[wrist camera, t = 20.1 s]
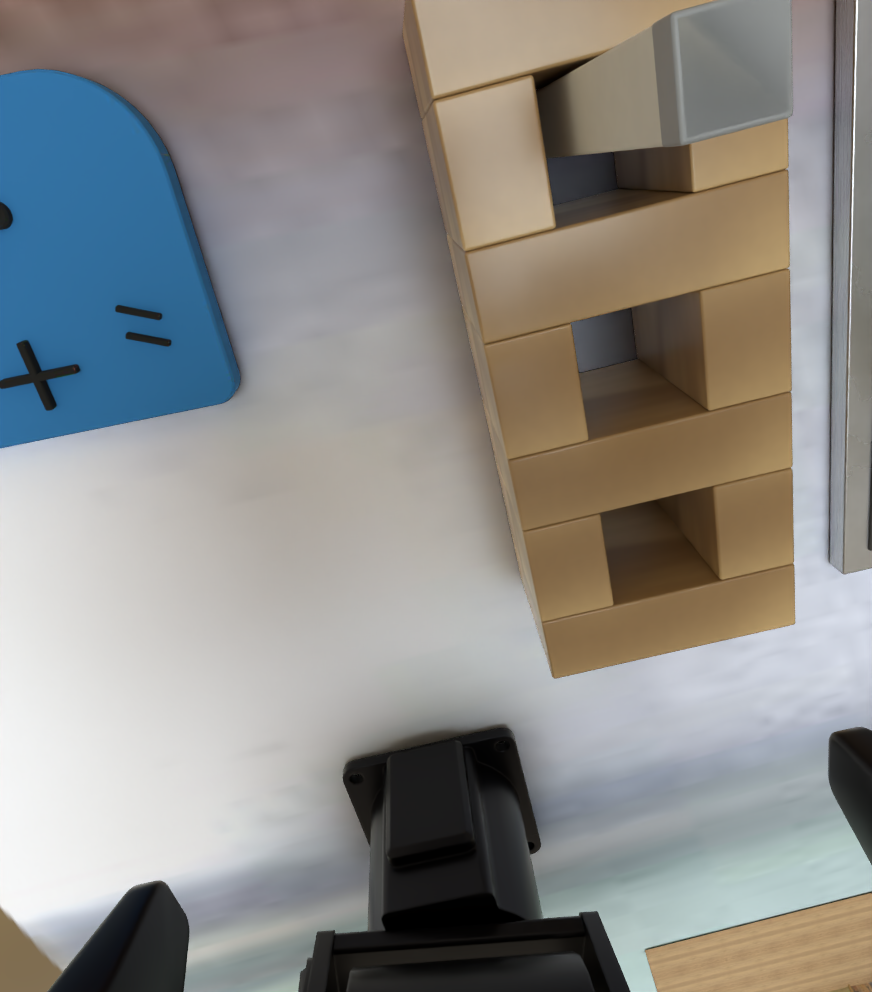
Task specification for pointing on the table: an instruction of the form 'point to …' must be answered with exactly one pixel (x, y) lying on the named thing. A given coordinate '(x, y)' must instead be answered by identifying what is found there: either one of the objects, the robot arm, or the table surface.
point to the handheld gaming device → (97, 268)
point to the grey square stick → (676, 82)
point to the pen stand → (658, 337)
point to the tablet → (852, 293)
